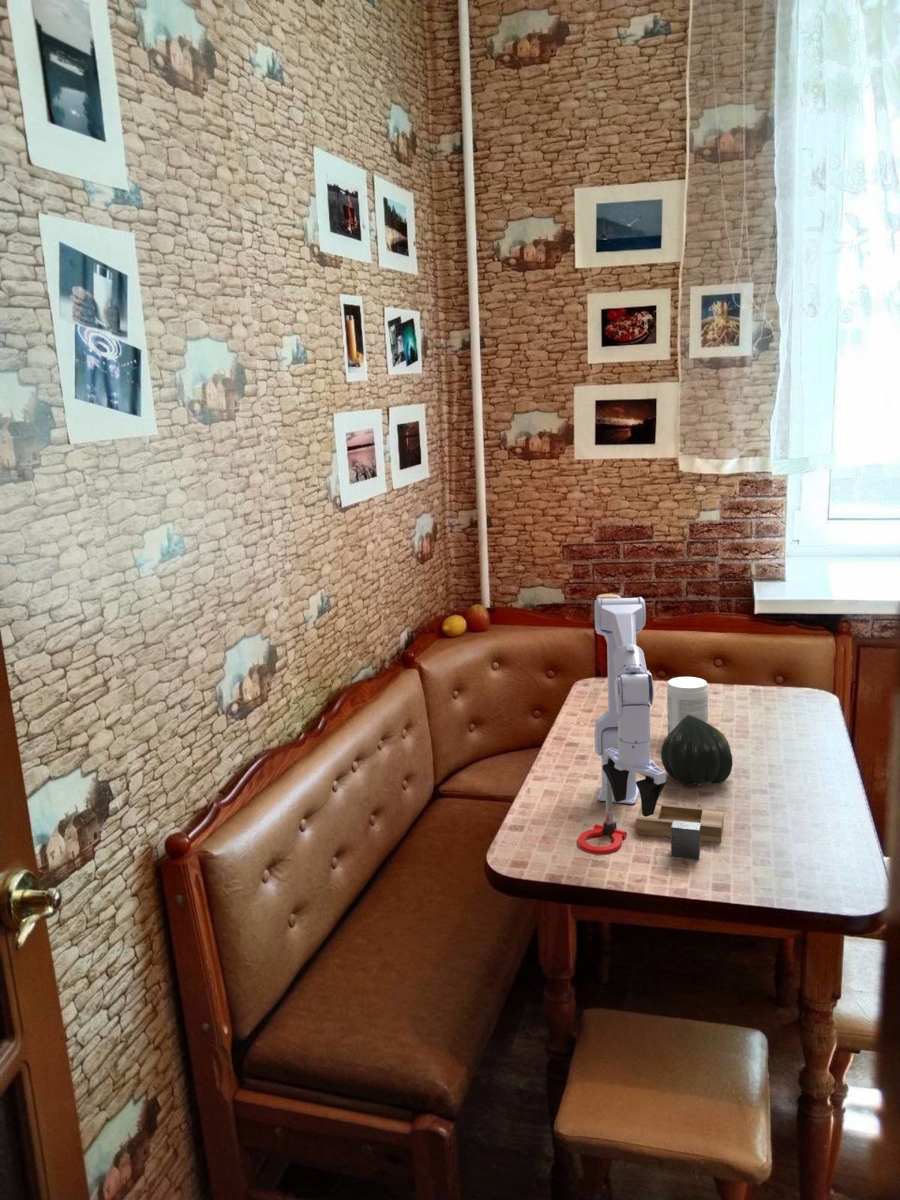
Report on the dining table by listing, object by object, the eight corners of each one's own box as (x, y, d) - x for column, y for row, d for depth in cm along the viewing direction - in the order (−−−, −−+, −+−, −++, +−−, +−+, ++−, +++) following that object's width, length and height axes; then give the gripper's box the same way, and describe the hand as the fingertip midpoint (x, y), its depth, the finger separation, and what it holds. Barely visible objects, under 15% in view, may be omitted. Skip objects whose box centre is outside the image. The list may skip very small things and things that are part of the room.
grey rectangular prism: (672, 849, 181) (673, 820, 180) (700, 852, 179) (700, 823, 178) (671, 857, 178) (671, 827, 177) (698, 860, 177) (699, 830, 175)
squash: (735, 776, 199) (730, 708, 206) (661, 775, 202) (659, 709, 209) (732, 796, 211) (727, 732, 218) (662, 796, 214) (660, 732, 222)
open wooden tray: (641, 815, 195) (641, 801, 195) (723, 823, 190) (723, 809, 189) (636, 833, 188) (636, 818, 187) (721, 842, 183) (721, 827, 182)
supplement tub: (715, 738, 234) (716, 681, 231) (693, 749, 228) (694, 690, 225) (680, 729, 241) (681, 673, 238) (659, 740, 235) (659, 682, 232)
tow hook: (609, 860, 179) (631, 838, 186) (607, 796, 176) (629, 777, 183) (569, 849, 184) (593, 828, 191) (566, 787, 181) (590, 768, 188)
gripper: (591, 731, 178) (591, 799, 181) (644, 755, 166) (644, 827, 169) (620, 723, 181) (620, 790, 184) (675, 745, 169) (674, 817, 172)
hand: (633, 807), depth 177 cm, fingers open, 7 cm apart
